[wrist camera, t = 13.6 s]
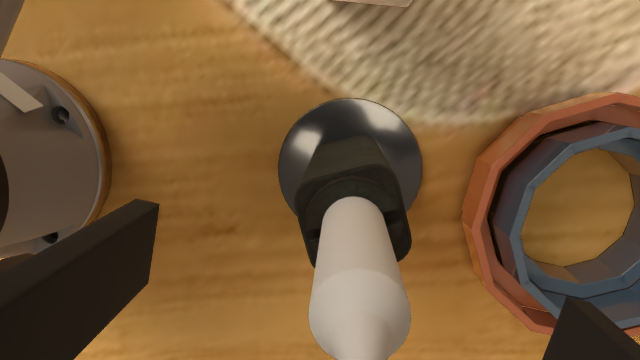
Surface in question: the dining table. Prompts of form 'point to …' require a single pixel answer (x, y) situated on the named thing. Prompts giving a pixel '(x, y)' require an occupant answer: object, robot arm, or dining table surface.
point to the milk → (382, 2)
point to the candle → (355, 250)
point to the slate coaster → (346, 122)
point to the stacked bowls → (514, 200)
